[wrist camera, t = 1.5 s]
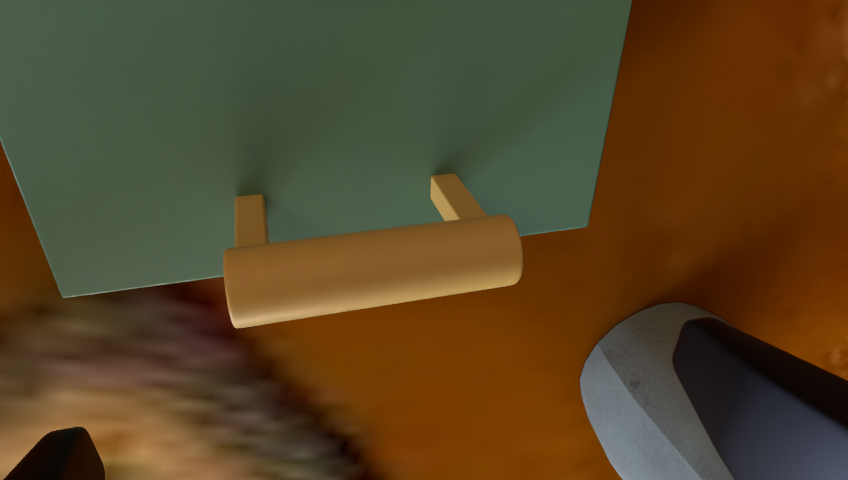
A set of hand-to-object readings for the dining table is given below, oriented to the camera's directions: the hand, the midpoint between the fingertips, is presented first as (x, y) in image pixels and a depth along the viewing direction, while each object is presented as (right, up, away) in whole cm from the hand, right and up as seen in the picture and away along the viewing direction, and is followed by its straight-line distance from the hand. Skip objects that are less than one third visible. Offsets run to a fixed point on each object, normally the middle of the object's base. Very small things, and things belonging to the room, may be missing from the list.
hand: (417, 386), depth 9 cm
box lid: (-2, +7, +5) cm, 9 cm away
